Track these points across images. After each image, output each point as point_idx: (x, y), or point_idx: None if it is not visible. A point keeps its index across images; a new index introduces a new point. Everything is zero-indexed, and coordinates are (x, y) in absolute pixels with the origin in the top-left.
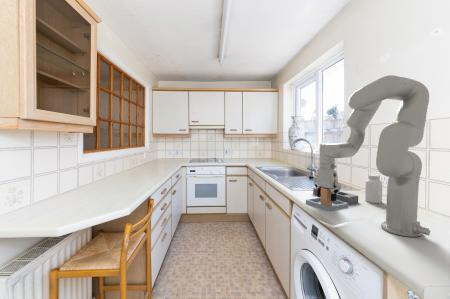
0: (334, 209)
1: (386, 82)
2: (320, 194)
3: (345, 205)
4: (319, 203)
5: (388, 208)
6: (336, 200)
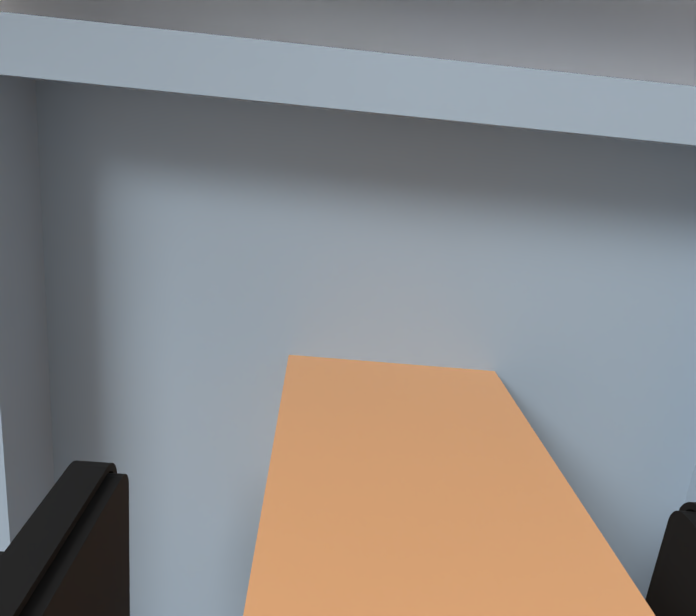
0: None
1: None
2: (99, 609)
3: None
4: (222, 507)
5: None
6: (514, 124)
